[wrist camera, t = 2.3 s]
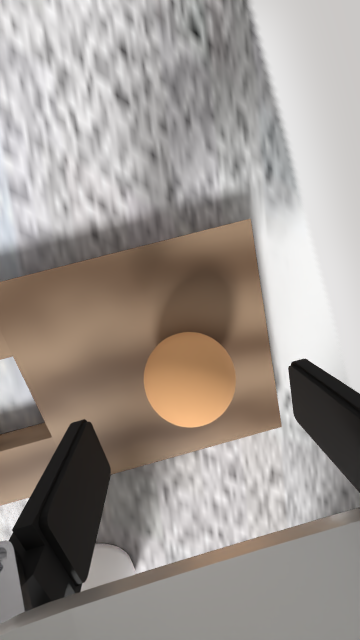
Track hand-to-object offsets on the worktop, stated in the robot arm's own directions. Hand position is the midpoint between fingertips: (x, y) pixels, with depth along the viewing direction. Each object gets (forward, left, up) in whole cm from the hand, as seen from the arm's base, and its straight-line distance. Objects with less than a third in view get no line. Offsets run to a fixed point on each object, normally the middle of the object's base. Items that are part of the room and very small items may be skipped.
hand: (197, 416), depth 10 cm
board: (-1, +8, -10) cm, 13 cm away
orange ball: (-1, 0, -5) cm, 5 cm away
